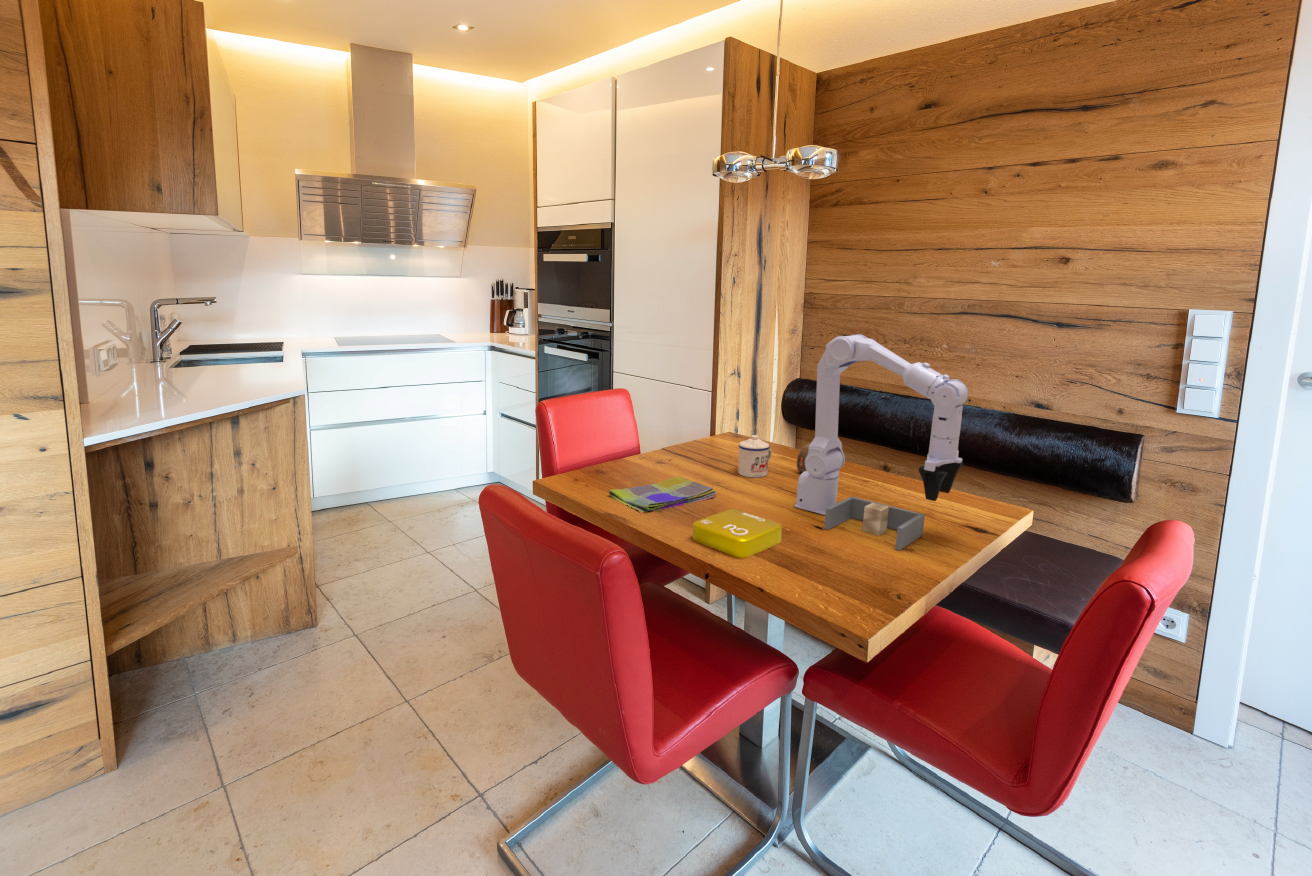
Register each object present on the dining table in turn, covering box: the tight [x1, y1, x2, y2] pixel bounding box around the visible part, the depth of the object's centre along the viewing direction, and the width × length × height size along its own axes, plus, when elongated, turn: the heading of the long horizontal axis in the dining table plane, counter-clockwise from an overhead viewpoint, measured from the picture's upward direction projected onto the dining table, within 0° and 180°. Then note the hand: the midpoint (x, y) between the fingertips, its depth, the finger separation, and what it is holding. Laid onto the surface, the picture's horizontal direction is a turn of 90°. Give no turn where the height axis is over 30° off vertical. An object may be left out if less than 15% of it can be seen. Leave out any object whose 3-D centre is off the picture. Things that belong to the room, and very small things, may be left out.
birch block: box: [861, 502, 889, 537], centre depth 154 cm, size 4×4×6 cm
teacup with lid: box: [737, 434, 773, 479], centre depth 198 cm, size 12×9×12 cm
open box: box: [823, 495, 926, 551], centre depth 153 cm, size 18×12×5 cm
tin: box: [796, 442, 812, 473], centre depth 203 cm, size 15×3×8 cm, turn 141°
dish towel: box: [608, 476, 718, 513], centre depth 177 cm, size 18×24×3 cm
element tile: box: [692, 508, 783, 559], centre depth 147 cm, size 15×15×5 cm
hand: (937, 495), depth 148 cm, fingers open, 7 cm apart
